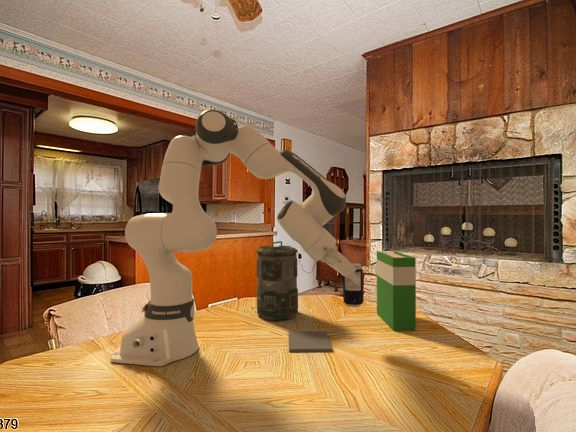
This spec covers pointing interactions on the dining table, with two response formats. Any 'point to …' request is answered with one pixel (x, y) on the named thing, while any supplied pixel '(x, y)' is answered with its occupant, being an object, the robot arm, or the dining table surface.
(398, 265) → the hardback book
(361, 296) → the beverage can
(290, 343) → the mat
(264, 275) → the canister
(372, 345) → the dining table surface
